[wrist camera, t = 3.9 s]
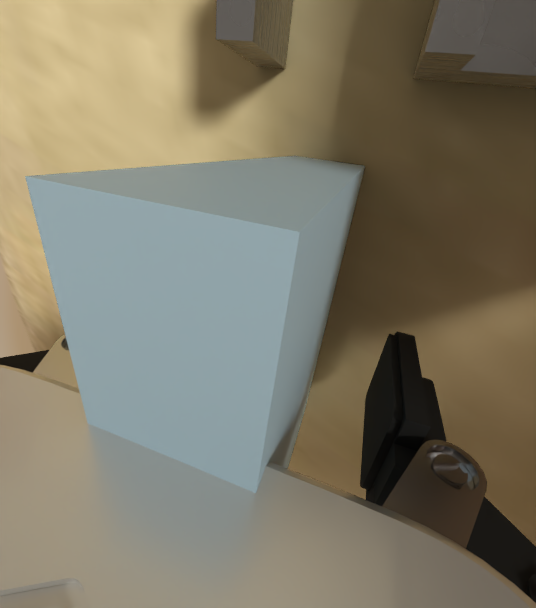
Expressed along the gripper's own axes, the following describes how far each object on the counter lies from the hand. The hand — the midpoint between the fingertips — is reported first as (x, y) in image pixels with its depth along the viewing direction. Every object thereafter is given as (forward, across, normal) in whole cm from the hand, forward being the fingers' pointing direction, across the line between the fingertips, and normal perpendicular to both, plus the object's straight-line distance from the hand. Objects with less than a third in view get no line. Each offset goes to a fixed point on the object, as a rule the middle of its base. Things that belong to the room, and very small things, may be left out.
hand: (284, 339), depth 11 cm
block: (+3, 0, 0) cm, 3 cm away
